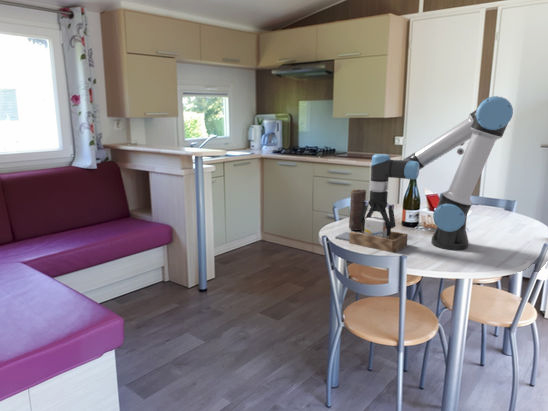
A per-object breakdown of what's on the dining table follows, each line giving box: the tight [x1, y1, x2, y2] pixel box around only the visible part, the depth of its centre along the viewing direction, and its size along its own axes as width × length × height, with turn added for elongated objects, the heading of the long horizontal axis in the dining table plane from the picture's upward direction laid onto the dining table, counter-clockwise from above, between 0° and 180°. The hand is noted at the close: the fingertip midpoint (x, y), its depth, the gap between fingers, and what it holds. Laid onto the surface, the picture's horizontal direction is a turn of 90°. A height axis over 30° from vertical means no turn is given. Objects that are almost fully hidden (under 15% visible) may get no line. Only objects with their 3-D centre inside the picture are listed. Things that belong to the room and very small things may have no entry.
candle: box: [348, 189, 367, 231], centre depth 214 cm, size 8×7×20 cm
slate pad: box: [334, 231, 350, 242], centre depth 204 cm, size 8×10×1 cm
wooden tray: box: [348, 230, 409, 254], centre depth 195 cm, size 21×13×5 cm, turn 52°
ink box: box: [364, 215, 386, 238], centre depth 194 cm, size 9×8×12 cm
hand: (375, 240), depth 195 cm, fingers closed on ink box, 9 cm apart
